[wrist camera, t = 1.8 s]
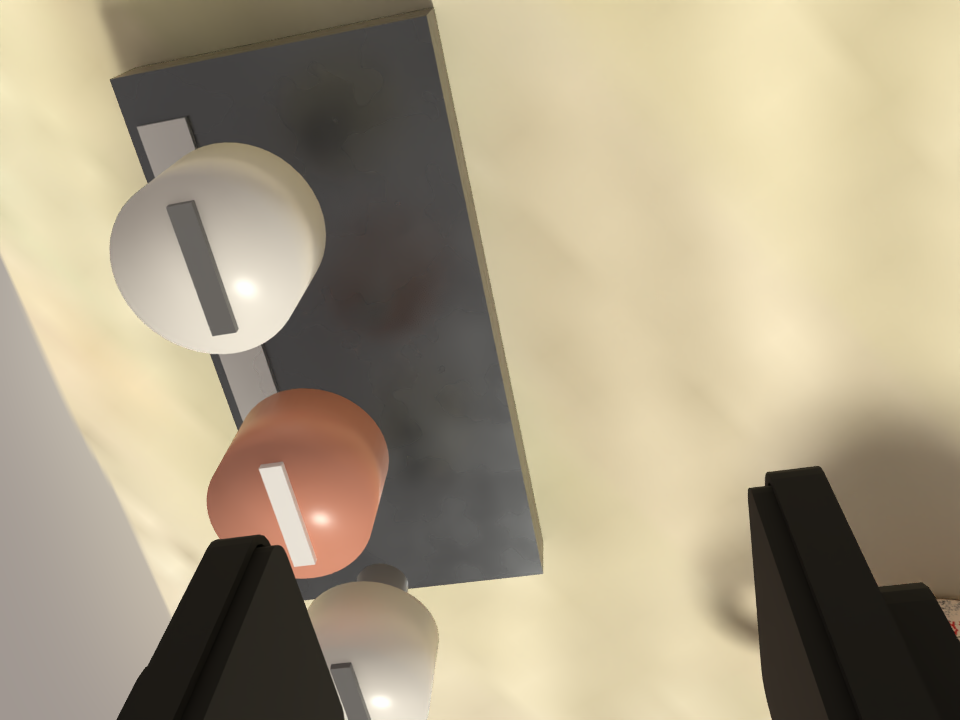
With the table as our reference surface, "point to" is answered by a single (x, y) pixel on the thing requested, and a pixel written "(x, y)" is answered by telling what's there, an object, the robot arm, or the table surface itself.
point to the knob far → (377, 645)
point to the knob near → (219, 248)
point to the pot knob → (303, 479)
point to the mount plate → (373, 278)
